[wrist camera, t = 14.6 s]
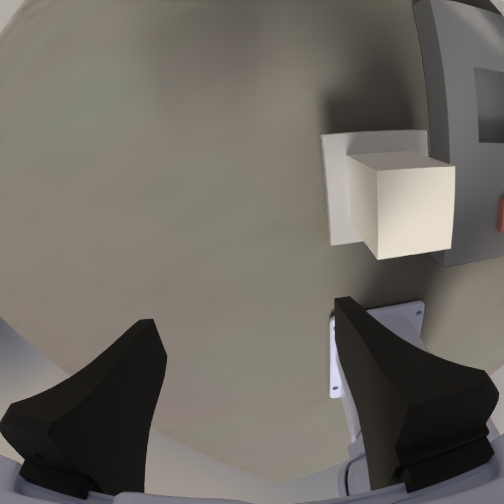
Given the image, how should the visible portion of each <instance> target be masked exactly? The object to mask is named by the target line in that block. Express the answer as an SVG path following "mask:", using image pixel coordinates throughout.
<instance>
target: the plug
mask: <svg viewBox="0 0 504 504" xmlns="http://www.w3.org/2000/svg"><path fill="white" fill-rule="evenodd" d="M320 139H321V148H322V157H323V167H324V178H325V189H326V201H327V214H328V229H329V242H330V244H331V246H332V245H340V244H347V243H355V242H362V241H364V242H365V244H366V245H367V246H368V248H369V249H370V250H371V252H372V253H373V254H374V256H375V257H376V258H377V260H380V259H387V258H393V257H400V256H407V255H413V254H419V253H426V252H432V251H438V250H445V249H451V241H452V229H453V216H454V198H455V166H453V165H450V164H447V163H445V162H442V161H439V160H436V159H433V158H430V157H428V143H427V130H422V129H421V130H381V131H361V132H345V133H332V134H320Z"/></svg>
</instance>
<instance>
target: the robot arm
mask: <svg viewBox="0 0 504 504" xmlns="http://www.w3.org/2000/svg"><path fill="white" fill-rule="evenodd" d="M334 304H335V316H333V317H331V318H330V321H329V329H330V381H329V394H330V397H331V398H338V397H341V399H342V403H343V407H344V411H345V415H346V419H347V423H348V428H349V432H350V436H351V441H352V444H351V445H349V446H348V452H349V457H350V461H348V462H346V463H345V464H344V465H343V466H342V467H341V468H340V470H339V473H338V477H337V484H336V496H337V498H334V499H327V500H320V501H314V502H305V503H297V504H504V434H503V435H501V436H500V434H499V432H498V430H497V428H496V427H495V425H494V423H493V421H492V420H491V418H490V416H491V414H492V412H493V410H494V409H495V406H496V404H497V402H498V399H499V392H498V390H497V388H496V387H495V385H494V383H493V382H492V380H491V379H490V377H489V376H488V374H487V373H486V372H485V371H484V370H480V369H476V368H471V367H467V366H463V365H460V364H457V363H454V362H451V361H448V360H445V359H442V358H440V357H437V356H435V355H433V354H430V353H429V351H428V350H427V348H426V346H425V345H424V343H423V341H422V340H421V338H420V332H421V327H422V321H423V315H424V309H425V304H424V303H423V301H414V302H409V303H404V304H399V305H393V306H388V307H382V308H377V309H371V310H365V309H363V308H362V307H361V306H360V305H359V304H358V303H357V302H356V301H355V300H354V299H352V298H351V297H350V296H348V297H342V298H335V299H334ZM419 310H420V311H419ZM418 311H419V312H418ZM417 312H418V313H417ZM334 327H335V328H334ZM166 363H167V354H166V352H165V349H164V346H163V344H162V341H161V339H160V336H159V333H158V331H157V328H156V325H155V323H154V320H153V319H143V320H139V321H137V322H136V323H135V324H134V325H133V326H132V327H130V328H129V329H128V330H127V331H126V332H125V333H124V334H123V335H122V336H121V337H120V338H118V339H117V340H116V341H115V342H114V343H113V344H112V345H111V346H110V347H109V348H107V349H106V350H105V351H104V352H103V353H102V354H100V355H99V356H98V357H97V358H96V359H94V360H93V361H92V362H91V363H90V364H88V365H87V366H86V367H84V368H83V369H81V370H80V371H79V372H77V373H76V374H74V375H73V376H71V377H70V378H68V379H66V380H64V381H63V382H61V383H59V384H58V385H56V386H54V387H52V388H50V389H48V390H46V391H44V392H42V393H40V394H37V395H35V396H32V397H30V398H27V399H24V400H21V401H18V402H15V403H12V404H11V405H10V406H9V408H8V409H7V412H6V413H5V415H4V416H3V418H2V420H1V422H0V432H1V433H2V435H3V437H4V438H5V439H6V440H7V442H8V443H9V444H10V445H11V446H12V447H13V448H14V449H15V450H16V451H17V452H18V453H19V454H20V455H21V456H22V457H23V458H24V459H25V461H24V463H23V465H21V464H20V463H19V462H17V461H15V460H12V459H9V458H7V457H4V456H2V455H0V504H253V503H248V502H244V501H240V500H229V499H214V498H188V497H175V496H164V495H154V494H146V493H144V481H145V463H146V453H147V444H148V438H149V431H150V426H151V422H152V418H153V414H154V411H155V407H156V404H157V401H158V397H159V394H160V391H161V387H162V384H163V380H164V376H165V370H166ZM335 386H336V387H335Z"/></svg>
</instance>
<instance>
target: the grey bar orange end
mask: <svg viewBox="0 0 504 504" xmlns="http://www.w3.org/2000/svg"><path fill="white" fill-rule="evenodd" d="M490 1H491V2H492V3H493V4H494V6H495V7H496V8H497V9H498V10H499V11H500V13H501V14H502V15H503V16H504V0H490Z"/></svg>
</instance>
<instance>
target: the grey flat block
mask: <svg viewBox="0 0 504 504" xmlns="http://www.w3.org/2000/svg"><path fill="white" fill-rule="evenodd" d="M412 8H413V12H414V16H415V21H416V26H417V31H418V36H419V41H420V47H421V53H422V59H423V66H424V73H425V81H426V90H427V99H428V110H429V123H430V141H431V158H433V159H436V160H439V161H442V162H445V163H447V164H450V165H453V166H455V198H454V216H453V229H452V241H451V249H445V250H438V251H432V252H428V253H429V254H430V255H431V256H432V257H433V258H434V259H435V260H436V261H437V262H438V263H439V264H440V265H441V266H442V267H443V268H445V267H451V266H456V265H462V264H467V263H472V262H477V261H482V260H487V259H492V258H497V257H502V256H504V16H503V15H500V14H497V13H494V12H491V11H488V10H484V9H481V8H477V7H474V6H470V5H466V4H463V3H459V2H454V1H450V0H421V1H419V2H417V3H416V4H414V5H412Z"/></svg>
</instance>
